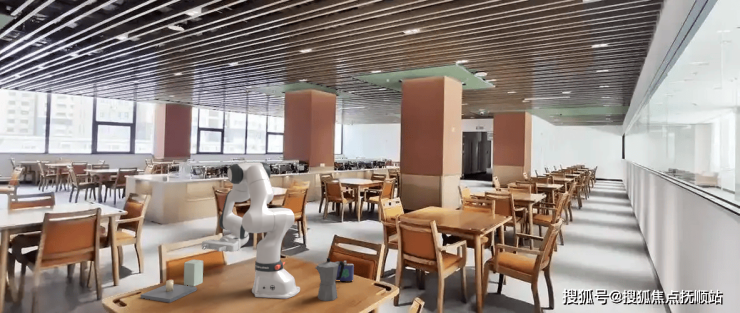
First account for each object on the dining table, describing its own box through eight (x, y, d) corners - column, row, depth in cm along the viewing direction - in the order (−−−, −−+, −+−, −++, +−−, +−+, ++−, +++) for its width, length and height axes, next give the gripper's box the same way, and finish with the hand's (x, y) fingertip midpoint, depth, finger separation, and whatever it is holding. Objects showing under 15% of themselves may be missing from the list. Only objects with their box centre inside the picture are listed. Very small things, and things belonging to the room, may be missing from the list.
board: (196, 290, 176) (197, 277, 176) (170, 302, 161) (170, 288, 161) (169, 286, 181) (169, 274, 181) (140, 298, 165) (140, 284, 165)
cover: (202, 282, 187) (203, 260, 188) (194, 286, 182) (194, 263, 182) (192, 281, 189) (193, 259, 189) (183, 285, 183) (184, 262, 183)
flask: (353, 280, 196) (354, 260, 196) (353, 282, 193) (353, 261, 193) (336, 280, 196) (336, 259, 196) (335, 282, 193) (335, 261, 193)
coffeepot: (320, 303, 164) (321, 262, 164) (309, 297, 171) (310, 257, 171) (349, 296, 173) (350, 257, 173) (338, 290, 180) (339, 253, 181)
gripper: (211, 235, 213) (194, 240, 200) (242, 239, 208) (227, 244, 195) (211, 246, 214) (193, 252, 200) (242, 250, 208) (226, 256, 195)
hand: (210, 248), depth 197 cm, fingers open, 8 cm apart
